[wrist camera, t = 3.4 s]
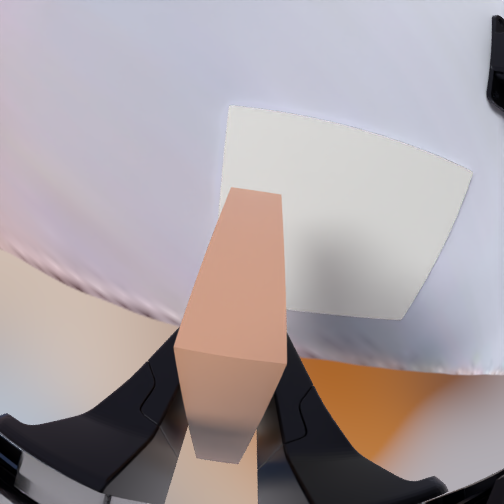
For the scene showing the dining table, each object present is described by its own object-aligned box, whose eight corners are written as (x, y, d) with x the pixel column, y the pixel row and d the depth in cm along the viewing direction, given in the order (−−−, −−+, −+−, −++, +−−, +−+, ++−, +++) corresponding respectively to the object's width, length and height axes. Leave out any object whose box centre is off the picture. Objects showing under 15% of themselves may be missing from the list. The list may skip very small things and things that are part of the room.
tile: (283, 194, 9) (291, 364, 4) (251, 348, 13) (239, 464, 8) (230, 187, 9) (173, 347, 4) (218, 343, 13) (196, 458, 8)
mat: (468, 169, 12) (473, 172, 11) (399, 315, 19) (401, 320, 18) (230, 105, 12) (229, 105, 11) (214, 294, 18) (213, 299, 18)
